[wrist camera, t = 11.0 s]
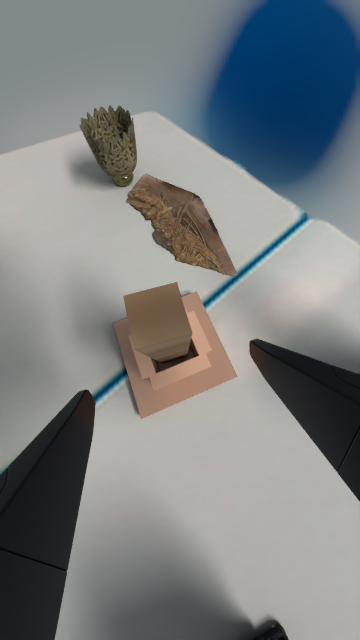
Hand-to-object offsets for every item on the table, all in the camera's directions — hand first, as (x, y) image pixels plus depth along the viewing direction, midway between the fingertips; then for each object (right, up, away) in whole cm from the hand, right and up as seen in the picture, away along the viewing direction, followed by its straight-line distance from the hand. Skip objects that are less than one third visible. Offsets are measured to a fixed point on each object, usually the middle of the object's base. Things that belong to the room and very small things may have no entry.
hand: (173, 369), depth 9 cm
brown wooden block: (-1, -1, +12) cm, 12 cm away
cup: (-10, +28, +22) cm, 37 cm away
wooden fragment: (+1, +19, +20) cm, 27 cm away
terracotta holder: (-1, -1, +13) cm, 13 cm away
